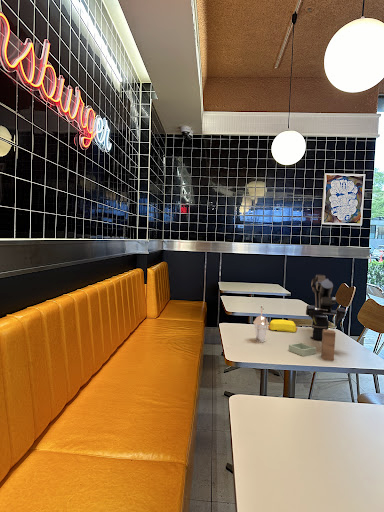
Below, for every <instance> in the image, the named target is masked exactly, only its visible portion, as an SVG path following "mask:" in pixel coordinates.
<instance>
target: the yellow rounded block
mask: <svg viewBox="0 0 384 512" xmlns="http://www.w3.org/2000/svg"><path fill="white" fill-rule="evenodd" d="M267 329H269V330H271V331H272V330H277V331H276V332H286V333H295V332H297V331H298V327H297V324H296V323H295V322H294V321H293V320H286V319H272V320H271V321H270V322H269V325H267Z"/></svg>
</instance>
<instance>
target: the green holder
mask: <svg viewBox="0 0 384 512" xmlns="http://www.w3.org/2000/svg"><path fill="white" fill-rule="evenodd" d="M288 351H289V352H291V353H293V354H296V355H299V356H301V357H306V356H312V355H316V354H317V347H315V346H312V345H309V344H306V343H303V342H297V343H292V344H288Z"/></svg>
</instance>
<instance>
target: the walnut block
mask: <svg viewBox="0 0 384 512" xmlns="http://www.w3.org/2000/svg"><path fill="white" fill-rule="evenodd" d="M335 345H336V331H335V330H334V329H327V330H325V329H323V334H322V340H321V350H320V351H321V352H320V357H321V358H322V360H329V361H334V360H335Z"/></svg>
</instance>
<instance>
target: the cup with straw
mask: <svg viewBox="0 0 384 512" xmlns="http://www.w3.org/2000/svg"><path fill="white" fill-rule="evenodd" d="M252 323H253V324H254V332H255V341H256V342H257V343H265V339H266V334H267V329H268V326H269V325H270V322H269V321H268V319H267V317H265V316H263V306H260V315H258V316H257V317H256V318H254V320H253V322H252Z"/></svg>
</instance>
